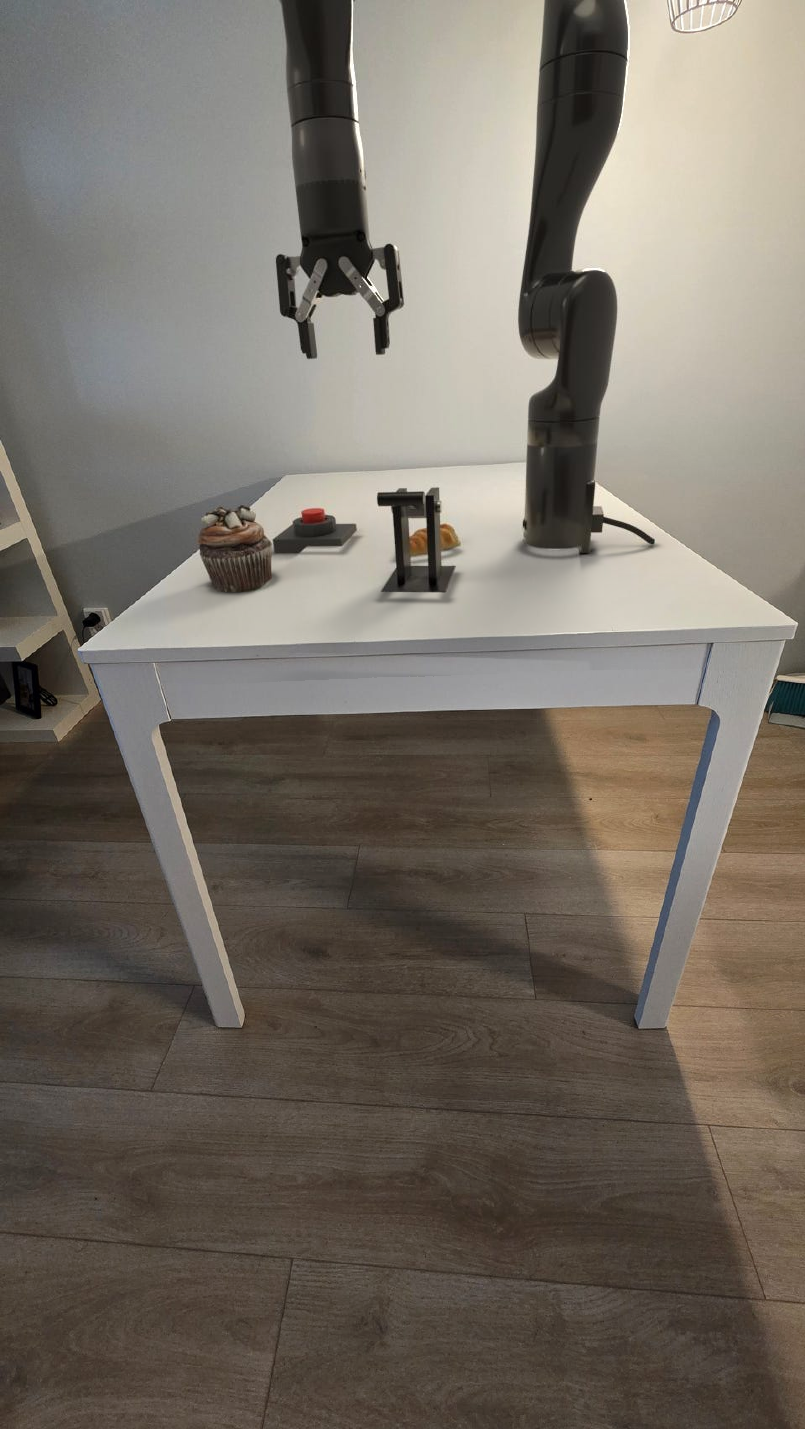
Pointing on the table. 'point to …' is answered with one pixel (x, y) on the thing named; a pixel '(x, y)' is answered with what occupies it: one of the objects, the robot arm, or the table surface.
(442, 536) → the pastry
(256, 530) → the cupcake
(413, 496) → the lever
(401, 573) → the bracket
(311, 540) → the control block
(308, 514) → the button
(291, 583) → the table surface
